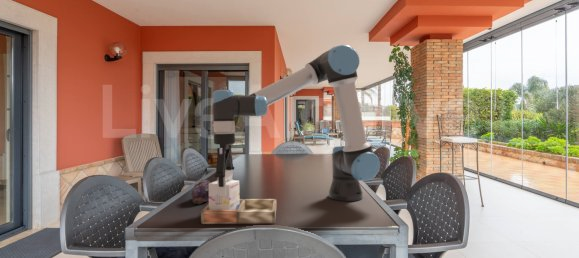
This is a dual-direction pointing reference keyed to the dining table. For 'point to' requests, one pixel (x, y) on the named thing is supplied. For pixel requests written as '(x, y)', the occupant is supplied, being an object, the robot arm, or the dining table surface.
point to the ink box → (224, 202)
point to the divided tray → (242, 213)
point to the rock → (201, 192)
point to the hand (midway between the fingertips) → (225, 191)
